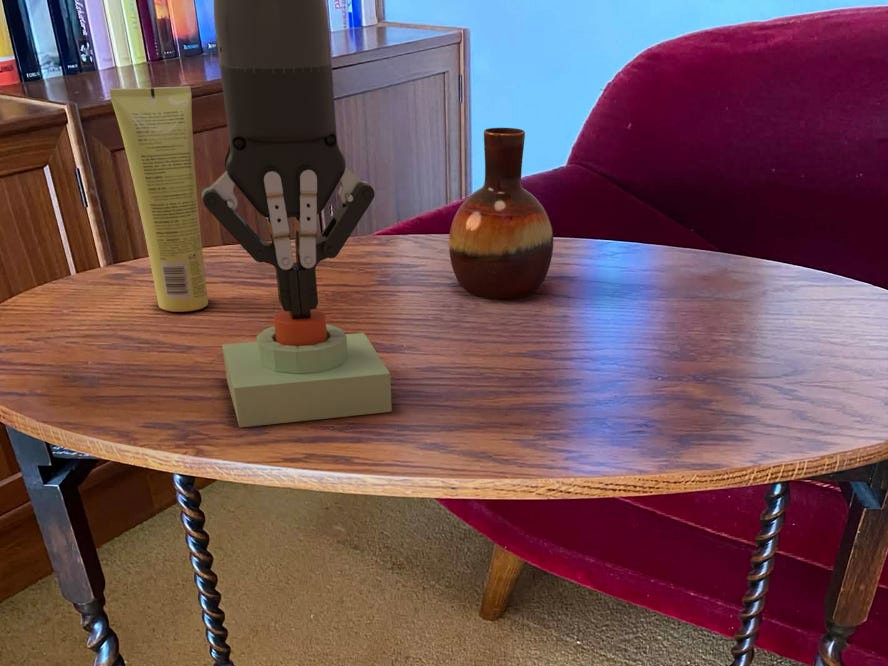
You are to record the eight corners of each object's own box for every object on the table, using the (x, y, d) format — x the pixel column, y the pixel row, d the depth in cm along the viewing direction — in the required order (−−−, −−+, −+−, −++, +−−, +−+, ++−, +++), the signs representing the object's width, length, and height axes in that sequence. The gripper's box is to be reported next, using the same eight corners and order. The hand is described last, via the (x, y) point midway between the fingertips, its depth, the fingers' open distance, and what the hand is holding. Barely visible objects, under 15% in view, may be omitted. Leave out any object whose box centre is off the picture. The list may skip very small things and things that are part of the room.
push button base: (239, 427, 74) (230, 364, 71) (227, 381, 82) (218, 322, 79) (391, 412, 77) (389, 350, 74) (366, 368, 84) (363, 311, 82)
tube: (175, 295, 101) (140, 81, 89) (220, 299, 100) (190, 84, 88) (149, 311, 96) (108, 88, 85) (195, 316, 95) (161, 91, 84)
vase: (524, 310, 99) (531, 143, 90) (430, 294, 103) (428, 132, 94) (566, 284, 107) (577, 128, 98) (477, 270, 111) (480, 119, 102)
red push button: (280, 351, 74) (277, 325, 73) (273, 335, 78) (270, 309, 76) (331, 347, 75) (329, 321, 74) (322, 331, 79) (320, 306, 77)
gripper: (177, 64, 61) (217, 337, 71) (383, 61, 64) (393, 323, 74) (171, 53, 66) (209, 307, 76) (360, 51, 70) (372, 295, 80)
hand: (300, 314), depth 75 cm, fingers closed
